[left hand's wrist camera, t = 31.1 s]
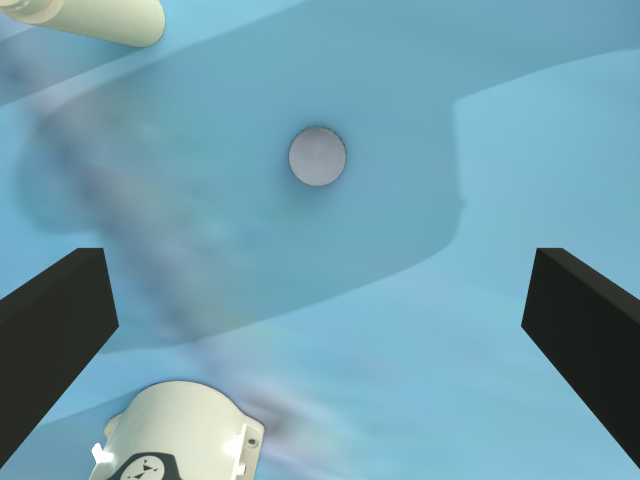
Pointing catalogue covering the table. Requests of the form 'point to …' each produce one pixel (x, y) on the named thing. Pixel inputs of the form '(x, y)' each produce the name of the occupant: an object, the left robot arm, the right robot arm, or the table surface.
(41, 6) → the cream long cylinder
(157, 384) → the right robot arm
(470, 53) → the table surface
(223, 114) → the table surface
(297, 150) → the lid
